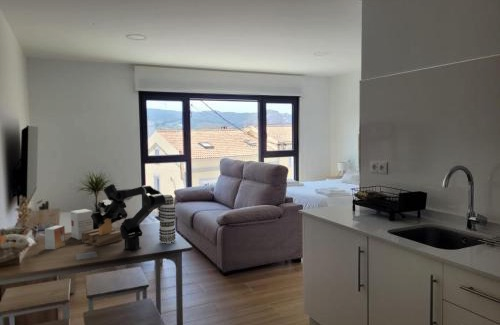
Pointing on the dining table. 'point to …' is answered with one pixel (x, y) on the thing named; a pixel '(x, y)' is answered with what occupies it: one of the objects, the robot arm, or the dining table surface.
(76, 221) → the supplement box
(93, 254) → the mat
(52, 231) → the small box
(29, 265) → the dining table surface
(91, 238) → the rack
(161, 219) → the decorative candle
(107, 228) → the rectangular block
